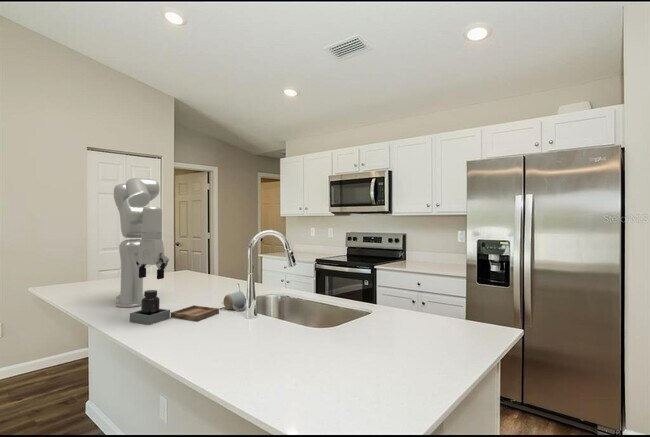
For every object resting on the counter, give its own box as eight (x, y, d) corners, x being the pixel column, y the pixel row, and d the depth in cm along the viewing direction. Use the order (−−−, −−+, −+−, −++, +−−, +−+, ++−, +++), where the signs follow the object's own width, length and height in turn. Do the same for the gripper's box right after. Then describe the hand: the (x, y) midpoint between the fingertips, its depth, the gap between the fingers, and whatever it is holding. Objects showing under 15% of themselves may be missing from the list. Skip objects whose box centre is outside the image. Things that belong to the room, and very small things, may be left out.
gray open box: (129, 321, 144) (129, 313, 144) (150, 315, 154) (150, 307, 154) (149, 324, 140) (149, 316, 140) (169, 318, 150) (170, 309, 150)
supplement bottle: (136, 321, 145) (137, 291, 145) (150, 317, 151) (151, 288, 151) (149, 323, 142) (150, 293, 142) (163, 318, 149) (163, 290, 149)
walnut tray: (170, 317, 151) (170, 312, 151) (193, 310, 164) (193, 305, 164) (197, 321, 146) (197, 316, 146) (218, 313, 159) (218, 308, 159)
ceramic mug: (222, 308, 167) (222, 292, 167) (236, 305, 173) (237, 290, 173) (235, 313, 160) (235, 296, 160) (250, 310, 166) (250, 293, 166)
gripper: (128, 236, 146) (127, 278, 146) (160, 237, 140) (160, 280, 140) (143, 236, 153) (143, 276, 153) (175, 236, 147) (174, 278, 147)
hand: (151, 278), depth 146 cm, fingers open, 9 cm apart
